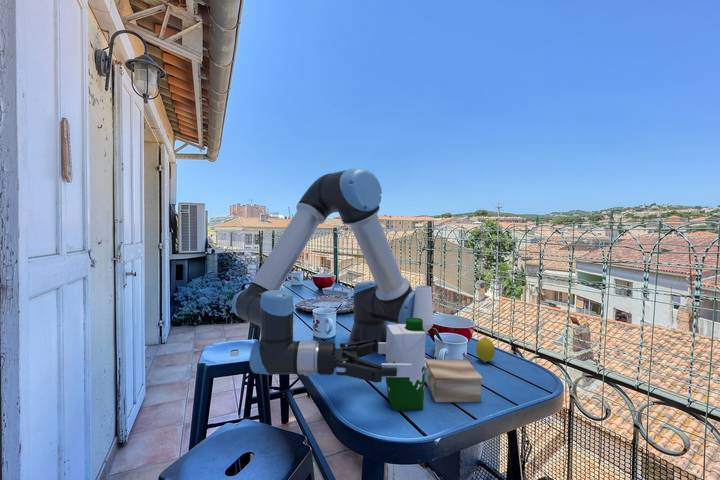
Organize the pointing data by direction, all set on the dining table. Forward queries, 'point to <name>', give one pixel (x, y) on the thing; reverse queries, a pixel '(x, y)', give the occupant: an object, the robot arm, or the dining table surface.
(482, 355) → the lemon
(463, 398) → the oak riser
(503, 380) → the dining table surface
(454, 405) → the dining table surface
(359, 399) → the dining table surface
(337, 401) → the dining table surface
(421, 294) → the champagne flute
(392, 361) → the fresh milk carton
